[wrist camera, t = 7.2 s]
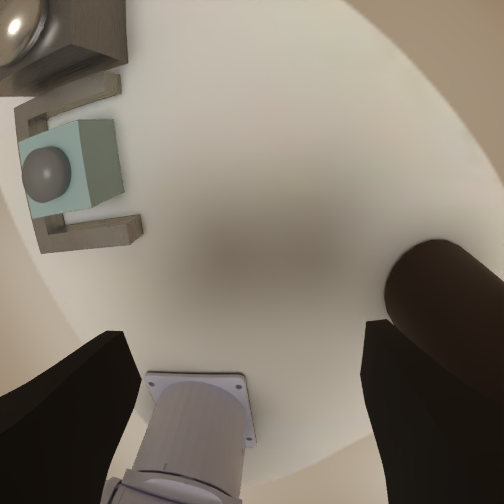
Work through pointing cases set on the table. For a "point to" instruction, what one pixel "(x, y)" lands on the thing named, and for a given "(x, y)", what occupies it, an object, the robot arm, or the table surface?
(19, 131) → the motor mount
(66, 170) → the pale blue block
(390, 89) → the table surface
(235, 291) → the table surface
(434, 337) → the bottle
